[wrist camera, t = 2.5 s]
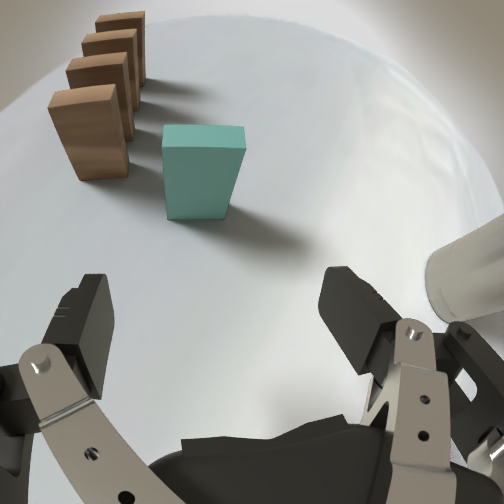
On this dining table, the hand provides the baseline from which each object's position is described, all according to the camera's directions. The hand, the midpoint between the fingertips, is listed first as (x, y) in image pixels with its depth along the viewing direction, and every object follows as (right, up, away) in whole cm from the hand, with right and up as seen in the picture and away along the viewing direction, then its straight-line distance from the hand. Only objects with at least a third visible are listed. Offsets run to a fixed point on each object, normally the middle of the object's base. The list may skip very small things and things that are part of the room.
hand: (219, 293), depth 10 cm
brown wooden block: (-14, +22, +19) cm, 32 cm away
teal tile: (-4, +5, +16) cm, 17 cm away
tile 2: (-13, +9, +15) cm, 22 cm away
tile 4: (-14, +18, +18) cm, 29 cm away
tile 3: (-13, +13, +16) cm, 25 cm away
